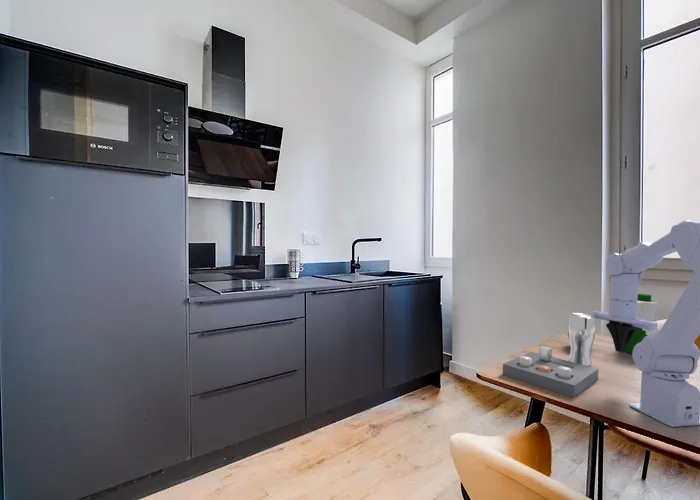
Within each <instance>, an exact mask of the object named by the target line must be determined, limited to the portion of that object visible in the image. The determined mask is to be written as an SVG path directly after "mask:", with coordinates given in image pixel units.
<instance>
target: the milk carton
mask: <svg viewBox="0 0 700 500" xmlns="http://www.w3.org/2000/svg"><path fill="white" fill-rule="evenodd" d="M657 306H658V302H656V301H653V300H652V294H647V293H638V298H637V316H636V317H637V318H640V319H644V320H648V321H652V322H655V321H654V320H655V313H656V309H657ZM627 323H628V322H627ZM651 334H654V331H650V330H648V329H644V328H639V327H638V330H637V331H636V332H635V333H634V334H633V336H632V337H631V339H630V341H629V343H628V346H627V348H626V352H625V353H628V354H630V355H632V353H633V349H634V347H635V345H636V344H638V343H640V342H641V341H642V340H643V338H644V337H646V336H648V335H651Z"/></svg>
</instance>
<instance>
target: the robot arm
mask: <svg viewBox="0 0 700 500" xmlns="http://www.w3.org/2000/svg"><path fill="white" fill-rule="evenodd" d="M673 253H677V254H678V256H679V258H680V259H681V261H682V262H683V265H684V266H685V268H687V269H688V270H691V271H693V275H692V277H691V278H690V280H689V282H688V283H687V284H686V287H685V289H684V290H683V292H682V293H681V294H680V297H679V299H678V300H677V302H676V303H675V305H674V306H673V308H672V310H671V312H670V314H669V316H667V319H666V321H664V323H663V326H662V327H661V328H660V330H659V331H658V322H656V321H654V322H652V321H648V320H644V319H640V318H637V317H636V316H637V298H638V294H639V284H640V283H641V282H642V277H643V275H644V273H645V271H646V270H647V269H650V268H652V267H655V266H657V265H660V263H662V261H663V260H664V256H668V255H670V254H673ZM605 264H606V271H607V273H608V274H609V275H610V291H609V310H608V311H607V312H606V311H600V310H593V311H591V315H592V318H594V319H595V320H596V319H597V320H602V321H607V322H608V323H606V325H605V327H606V328H607V330H608V331H609V333H610V335H611V339H612V342H613V345H614V349H615V351H616V352H618V353H627V352H626V348H627V346H628V343H629V341H630V339H631V337H632V336H633V334H634V333H635V332H636V331H637V330H638V327H639V328H644V329H648V330H650V331H653V334H651V335H648V336H646V337H644V338H643V340H642V341H641V342H640V343H638V344H636V345H635V347H634V349H633V353H632V354H631V356H632V361H633V363H634V364H635V366H636V367H637V368H638V369H637V370H638V371H641V379H640V381H641V382H640V383H641V384H640V396H639V397H640V400H639V402H636V403H634V402H633V403H629V406H630V407H631V408H633V409H635V410H636V411H639V412H641V413H643V414H645V415H647V416H649V417H651V418H653V419H655V420H657V421H659V422H660V423H663V424H665V425H667V426H669V427H672V428H674V427H677V428H678V427H686V426H687V427H688V426H699V425H700V390H699V388H698V387H696V386H695V385H693V384H691V383H689V381H687V379H688V380H689V379H690V375H692V374H694V373H695V372H696V370H697V368H698V363H699V359H700V349H699V347H698V346H697V345H696V343H695V341H696V340H697V338H698V337H699V336H700V221H693V220H683V221H680V222H679V223H678V224H676V225H673V226H672V227H671V229H670V232H668V233H666V234H664V235H663V236H662V237H660V238H659V239H657V240H655V241H654V242H647V241H639V242H637V245H636V246H633V247H632V248H628V249H626V250H625V252H622V253H617V252H613V253H611V254H610V255H609V256H607V259H606V263H605ZM627 322H628V323H627ZM654 331H657V332H654Z"/></svg>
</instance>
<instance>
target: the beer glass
mask: <svg viewBox="0 0 700 500" xmlns="http://www.w3.org/2000/svg"><path fill="white" fill-rule="evenodd" d="M568 320H569V321H568V328H569V337H568V340H569V339H570V340H569V344H570V345H569V346H570V352H569V353H570V354H569V357H568V361H570V362H573V363H577V364H581V365H585V366H589V367H592V364H593V363H592V362H593V361H592V356H591V355H592V350H593V349H592V348H593V345H594V341H595V337H596V319H594V318H592V314H588V313H581V312H580V313H579V312H572V313H570V314H569V319H568Z"/></svg>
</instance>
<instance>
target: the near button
mask: <svg viewBox="0 0 700 500" xmlns="http://www.w3.org/2000/svg"><path fill="white" fill-rule="evenodd" d="M558 376H560V377H563V378H567V379H571V369H570V368H568V367H562V366H560V367H558Z"/></svg>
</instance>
